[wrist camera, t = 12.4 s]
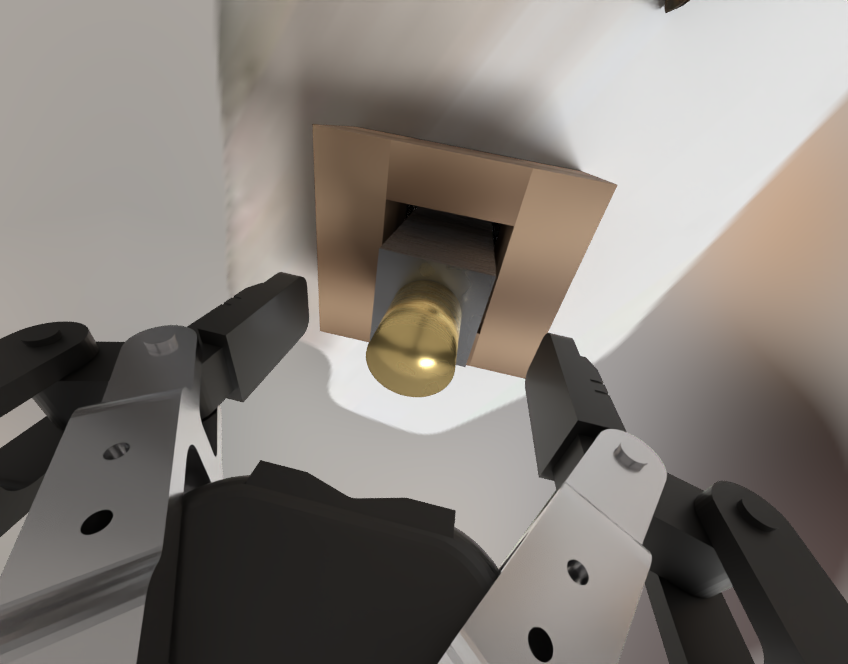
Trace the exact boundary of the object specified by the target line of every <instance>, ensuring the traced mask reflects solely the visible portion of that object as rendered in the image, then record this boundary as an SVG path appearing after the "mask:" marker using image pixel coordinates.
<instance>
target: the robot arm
mask: <svg viewBox="0 0 848 664" xmlns="http://www.w3.org/2000/svg"><path fill="white" fill-rule="evenodd" d="M308 323H309V309H308V293H307V282H306V280H305V278H304V277H301V276H296V275H292V274H287V273H283V272H279V273H277V274H276V275H274V276H273V277H271V278H270V279H268V280H267V281H266V282H264V283H260V284H257V285H254V286H251V287H248V288H245V289H244V290H242V291H241V292H239V293H238V294H236V295H235V296H234V298H230V299H229V300H227V301H226V302H224V304H223V305H222V304H221V305H220V306H218V307H216V308H215V309H213V310H212V311H210V312H209V313H207V314H206V315H204V316H203V317H201V318H200V319H198V320H197V321H195V322H194V323H192V324H191V325H189V326H188V327H184V326H178V325H168V326H160V327H155V328H151V329H147V330H145V331H142V332H139V333H137V334H135V335H134V336H132V337H130V338H129V339H128V340H127V341H126V342H95V340H94V338H93V336H92V335H91V333H90V331H89V330H88V328H87V327H86V326H85V325H83V324H81V323H77V322H52V323H45V324H40V325H36V326H32V327H28V328H25V329H22V330H19V331H17V332H15V333H12V334H10V335H8V336H6V337H3V338H1V339H0V417H2V416H3V415H5V414H7V413H8V412H10V411H11V410H13V409H14V408H16V407H18V406H19V405H21V404H22V403H24V402H26V401H27V400H29V399H30V398H33V399H34V400H35V402H36V403H37V404H38V406H39V407H40V408H41V409H42V410H43V412H44V413H45V414H46V415H47V416H46V417H45V418H43V419H42V420H40V421H39V422H37V423H36V424H34V425H33V426H32V427H30V428H29V429H27V430H26V431H24V432H23V433H22V434H20V435H19V436H17V437H16V438H14V439H13V440H11V441H10V442H9V443H7V444H6V445H4V446H3V447H1V448H0V537H1V536H2V535H3V534H4V533H5V532H7V531H8V530H9V529H10V528H11V527H12V526H13V525H14V524H16V523H17V522H18V521H19V520H20V519H21V518H22V517H24V516H25V515H26V514H27V513H28V512H29V513H28V515H27V517H26V520H25V522H24V524H23V526H22V529H21V531H20V533H19V536H18V538H17V540H16V542H15V545H14V547H13V549H12V551H11V554H10V556H9V558H8V560H7V563H6V565H5V567H4V570H3V572H2V574H1V576H0V664H618V662H619V659H620V656H621V653H622V650H623V647H624V644H625V641H626V638H627V635H628V632H629V629H630V626H631V623H632V620H633V617H634V614H635V611H636V608H637V605H638V602H639V599H640V596H641V593H642V590H643V587H644V584H645V586H646V588H647V592H648V595H649V599H650V602H651V605H652V608H653V612H654V615H655V618H656V621H657V625H658V628H659V632H660V635H661V638H662V641H663V645H664V648H665V651H666V654H667V658H668V661H669V664H755V663H754V661H753V659H752V657H751V655H750V652H749V650H748V648H747V646H746V644H745V642H744V640H743V637H742V635H741V633H740V631H739V629H738V627H737V625H736V622H735V620H734V618H733V616H732V614H731V612H730V610H729V607H728V605H727V603H726V601H725V599H724V597H723V595H722V592H723V591H725V590H727V589H729V588H732V587H733V588H734V590H735V591H736V594H737V596H738V598H739V600H740V602H741V604H742V606H743V608H744V610H745V612H746V614H747V616H748V618H749V620H750V622H751V624H752V626H753V628H754V630H755V632H756V634H757V636H758V638H759V640H760V643H761V645H762V648H763V653H764V664H848V603H847V602H846V600H845V599H844V597H843V596H842V595H841V594H840V592H839V591H838V589H837V588H836V586H835V585H834V584H833V582H832V581H831V579H830V578H829V577H828V575H827V574H826V573H825V571H824V570H823V568H822V567H821V566H820V564H819V563H818V562H817V560H816V559H815V557H814V556H813V555H812V553H811V552H810V551H809V549H808V548H807V546H806V545H805V544H804V542H803V541H802V539H801V538H800V537H799V535H798V534H797V533H796V531H795V530H794V528H793V527H792V526H791V525H790V523H789V522H788V521H787V520H786V519H785V518H784V516H783V515H782V514H781V513H780V512H779V511H777V510H776V509H775V508H774V507H773V506H772V505H771V504H769V503H768V502H767V501H766V500H764V499H763V498H761V497H760V496H759V495H757V494H755V493H754V492H752V491H750V490H748V489H747V488H745V487H743V486H740V485H738V484H735V483H732V482H728V481H719V482H716V483H714V484H713V485H712V486H710V487H709V488H708V489H706V490H705V491H703V490H701V489H699V488H697V487H695V486H693V485H691V484H689V483H687V482H685V481H683V480H681V479H679V478H677V477H675V476H673V475H671V474H669V473H667V472H666V469H665V466H664V464H663V462H662V461H661V459H660V458H659V456H658V455H657V454H656V453H655V452H654V451H653V450H652V449H651V448H650V447H649V446H648V445H647V444H645V443H644V442H643V441H641V440H640V439H639V438H637V437H635V436H633V435H631V434H629V433H627V432H626V430H625V428H624V426H623V423H622V421H621V419H620V417H619V415H618V413H617V411H616V408H615V407H614V404H613V402H612V400H611V398H610V396H609V395H608V392H607V389H606V387H605V385H603V381H602V378H601V376H600V374H599V372H598V370H597V369H596V368H595V367H594V366H593V365H592V363H591V362H590V361H589V360H588V359H587V358H586V357H582V356H580V354H579V352H578V349H577V347H576V345H575V342H574V340H573V339H572V338H569V337H564V336H560V335H555V334H551V333H547V334H545V336H544V337H543V339H542V341H541V343H540V345H539V347H538V349H537V351H536V354H535V356H534V358H533V360H532V362H531V364H530V366H529V368H528V371H527V374H526V379H525V390H526V396H527V403H528V409H529V416H530V421H531V429H532V434H533V442H534V448H535V455H536V461H537V467H538V474H539V477H541V478H544V479H549V480H553V481H555V485H556V491H555V492H554V493H553V495H552V496H551V497H550V499H549V500H548V501H547V503H546V504H545V505H544V507H543V508H542V510H541V511H540V512H539V514H538V515H537V517H536V518H535V519H534V521H533V522H532V523H531V525H530V526H529V527H528V529H527V530H526V532H525V533H524V534H523V536H522V537H521V538H520V540H519V541H518V543H517V544H516V545H515V547H514V548H513V549H512V551H511V552H510V553H509V555H508V556H507V557H506V558H505V560H504V561H503V563H502V564H501V565H500V567H499V568H497V566H496V565H495V563H494V562H493V561H492V559H491V558H490V557H489V556H488V555H487V554H486V552H485V551H484V550H483V549H482V548H481V547H480V546H479V545H478V544H477V543H476V542H475V541H474V540H472V539H471V538H470V537H469V536H467V535H466V534H465V533H463V532H462V531H460V530H459V529H457V528H455V527H454V523H455V510H451V509H448V508H444V507H440V506H436V505H432V504H428V503H425V502H421V501H417V500H413V499H409V498H362V499H357V498H351V497H348V496H346V495H344V494H343V493H341V492H339V491H338V490H336V489H334V488H333V487H331V486H329V485H328V484H326V483H324V482H323V481H321V480H319V479H318V478H316V477H314V476H313V475H311V474H309V473H308V472H304V471H300V470H296V469H293V468H288V467H285V466H281V465H277V464H273V463H269V462H265V461H262V460H260V462H259V463H258V465H257V466H256V468H255V469H254V471H253V472H252V474H251V475H247V476H238V477H231V478H226V479H224V478H223V472H222V423H221V422H222V420H221V419H222V415H221V414H222V413H221V408H220V404H221V403H222V402H223V401H224V400H225V398H228V399H232V400H236V401H240V402H244V401H245V400H246V399H247V398H248V396H249V395H250V394H251V393H252V392H253V391H254V390H255V388H257V386H258V385H259V384H260V383H261V382H262V381H263V380H264V378H265V377H266V376H267V375H268V374H269V373H270V372H271V371H272V370H273V368H274V367H275V366H276V365H277V364H278V363H279V362H280V361H281V359H282V358H283V357H284V356H285V355H286V354H287V353H288V351H289V350H290V349H291V348H292V347H293V346H294V345H295V344H296V343H297V341H298V340H299V339H300V338H301V337H302V336H303V335H304V333H305V332H306V329H307V327H308Z"/></svg>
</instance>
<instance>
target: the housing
mask: <svg viewBox="0 0 848 664" xmlns="http://www.w3.org/2000/svg"><path fill="white" fill-rule="evenodd" d="M312 125H313V152H314V179H315V206H316V233H317V260H318V287H319V314H320V331H323V332H327V333H331V334H336V335H340V336H344V337H348V338H353V339H357V340H361V341H366V342H370V333H371V323H372V313H373V303H374V294H375V284H376V274H377V264H378V255H379V248H380V247H381V246H382V245H383V244H384V243H385V242H386V241H387V239H388V238H389V237H390V236H391V235H392V234H393V233H394V232H395V231H396V230H397V229H398V227H399V226H400V225H401V224H402V223H403V222H404V221H405V216H406V208H407V204H410V205H415V206H420V207H425V208H430V209H434V210H439V211H444V212H449V213H453V214H458V215H463V216H468V217H473V218H477V219H482V220H487V221H492V222H496V223H501V226H500V230H499V233H498V237H497V240H496V243H495V247H494V256H495V268H496V279H495V282H494V285H493V287H492V290H491V293H490V296H489V299H488V302H487V305H486V308H485V311H484V314H483V317H482V320H481V322H480V325H479V328H478V331H477V334H476V337H475V340H474V343H473V346H472V349H471V352H470V354H469V357H468V360H467V363H466V365H469V366H473V367H477V368H482V369H486V370H490V371H495V372H499V373H503V374H507V375H512V376H516V377H520V378H525V379H526V374H527V371H528V368H529V366H530V364H531V362H532V360H533V358H534V356H535V354H536V351H537V349H538V347H539V345H540V343H541V341H542V339H543V337H544V336H545V334H547V333H548V331H549V329H550V327H551V325H552V322H553V320H554V318H555V316H556V314H557V312H558V310H559V308H560V305H561V303H562V301H563V299H564V297H565V295H566V293H567V291H568V289H569V286H570V284H571V282H572V280H573V278H574V276H575V274H576V272H577V270H578V267H579V265H580V263H581V261H582V259H583V257H584V255H585V253H586V250H587V248H588V246H589V244H590V242H591V240H592V238H593V236H594V234H595V231H596V229H597V227H598V225H599V223H600V221H601V219H602V217H603V215H604V212H605V210H606V208H607V206H608V204H609V202H610V200H611V198H612V195H613V193H614V191H615V189H616V187H617V185H616V184H614V183H611V182H609V181H606V180H603V179H601V178H598V177H595V176H593V175H590V174H588V173H585V172H582V171H577V170H572V169H567V168H562V167H557V166H552V165H547V164H542V163H537V162H532V161H527V160H522V159H517V158H512V157H507V156H502V155H497V154H492V153H487V152H481V151H476V150H471V149H466V148H461V147H456V146H451V145H446V144H441V143H436V142H431V141H426V140H421V139H416V138H411V137H406V136H401V135H396V134H391V133H386V132H381V131H376V130H370V129H365V128H360V127H353V126H336V125H318V124H312Z"/></svg>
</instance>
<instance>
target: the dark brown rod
mask: <svg viewBox="0 0 848 664" xmlns="http://www.w3.org/2000/svg"><path fill="white" fill-rule="evenodd" d="M688 1H690V0H665V13H667V12H670V11H672V10H674V9H677V8H679V7H681V6H683V5H684V4H686V3H687V2H688Z"/></svg>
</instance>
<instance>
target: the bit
mask: <svg viewBox="0 0 848 664" xmlns="http://www.w3.org/2000/svg"><path fill="white" fill-rule="evenodd" d="M495 279H496V268H495V256H494V244H493V232H492V221H487V220H482V219H477V218H473V217H468V216H463V215H458V214H453V213H449V212H444V211H439V210H434V209H430V208H425V207H420V206H418V207H417V208H416V209H415V210H414V211H413V212H412V213H411V214H410V216H409V217H408V218H407V219H406V220H405V221H404V222H403V223H402V224H401V225H400V226H399V227H398V229H397V230H396V231H395V232H394V233H393V234H392V235H391V236H390V237H389V238H388V239H387V241H386V242H385V243H384V244H383V245H382V246H381V247H380V248H379V255H378V264H377V274H376V284H375V294H374V303H373V313H372V323H371V333H370V342H369V344H368V347H367V351H366V361H367V365H368V368H369V370H370V372H371V373H372V375H373V376H374V378H375V379H376V380H377V381H378V382H379V383H380V384H382V385H383V386H384V387H386V388H387V389H389V390H391V391H393V392H395V393H397V394H400V395H404V396H409V397H425V396H430V395H433V394H436V393H438V392H440V391H441V390H443V389H444V388H445V387H447V385H448V384H449V383H450V382H451V380H452V378H453V376H454V372H455V365H459V366H463V367H465V366H466V363H467V360H468V357H469V354H470V352H471V349H472V346H473V343H474V340H475V337H476V334H477V331H478V328H479V325H480V322H481V320H482V317H483V314H484V311H485V308H486V305H487V302H488V299H489V296H490V293H491V290H492V287H493V285H494V282H495Z"/></svg>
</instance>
